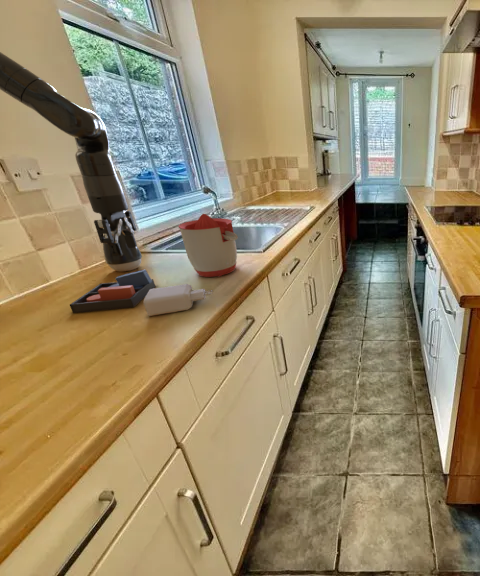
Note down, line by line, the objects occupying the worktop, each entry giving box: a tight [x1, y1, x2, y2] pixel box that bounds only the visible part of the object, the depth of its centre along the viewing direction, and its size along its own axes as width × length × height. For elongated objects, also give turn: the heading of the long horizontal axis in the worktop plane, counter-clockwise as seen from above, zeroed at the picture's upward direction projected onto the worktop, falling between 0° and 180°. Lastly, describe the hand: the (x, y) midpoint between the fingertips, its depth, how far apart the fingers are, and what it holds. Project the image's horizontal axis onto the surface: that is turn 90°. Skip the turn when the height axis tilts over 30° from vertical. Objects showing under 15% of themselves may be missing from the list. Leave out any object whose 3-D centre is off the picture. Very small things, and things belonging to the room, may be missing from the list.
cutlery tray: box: [69, 278, 156, 314], centre depth 90 cm, size 14×14×2 cm
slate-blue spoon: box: [109, 269, 152, 288], centre depth 93 cm, size 4×11×4 cm, turn 104°
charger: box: [143, 283, 214, 317], centre depth 86 cm, size 5×9×15 cm
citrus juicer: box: [177, 213, 239, 278], centre depth 106 cm, size 16×17×20 cm
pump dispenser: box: [102, 232, 143, 273], centre depth 110 cm, size 10×10×15 cm
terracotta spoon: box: [87, 285, 135, 302], centre depth 87 cm, size 4×11×4 cm, turn 104°
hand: (125, 251), depth 91 cm, fingers open, 8 cm apart
